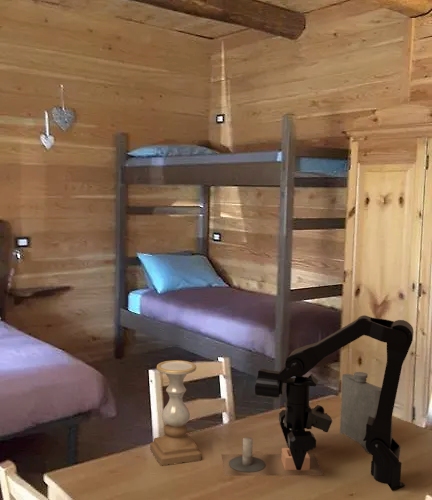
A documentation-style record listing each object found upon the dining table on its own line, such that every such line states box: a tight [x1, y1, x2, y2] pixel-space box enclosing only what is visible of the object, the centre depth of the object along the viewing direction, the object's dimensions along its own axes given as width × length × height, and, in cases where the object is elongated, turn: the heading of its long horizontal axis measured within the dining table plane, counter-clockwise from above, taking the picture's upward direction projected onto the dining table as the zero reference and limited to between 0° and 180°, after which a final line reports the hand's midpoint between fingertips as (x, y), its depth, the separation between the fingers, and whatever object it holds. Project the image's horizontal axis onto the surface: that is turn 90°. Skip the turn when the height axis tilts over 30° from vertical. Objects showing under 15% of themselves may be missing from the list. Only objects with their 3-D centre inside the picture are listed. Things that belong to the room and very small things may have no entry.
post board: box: [221, 436, 325, 477], centre depth 164 cm, size 24×12×8 cm, turn 93°
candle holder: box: [149, 359, 202, 466], centre depth 171 cm, size 11×11×24 cm
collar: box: [281, 447, 310, 470], centre depth 165 cm, size 6×6×3 cm
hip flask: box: [339, 371, 382, 454], centre depth 181 cm, size 16×4×20 cm, turn 26°
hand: (295, 461), depth 165 cm, fingers open, 9 cm apart
